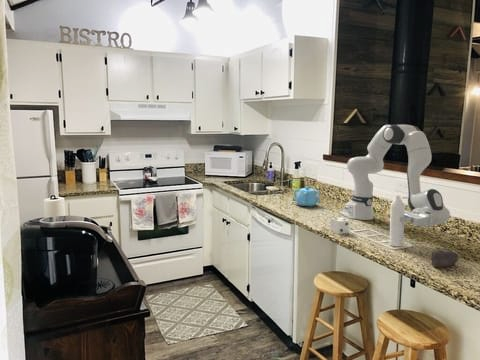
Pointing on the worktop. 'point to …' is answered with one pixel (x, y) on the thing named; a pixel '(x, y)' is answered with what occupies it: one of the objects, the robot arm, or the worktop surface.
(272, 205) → the worktop surface
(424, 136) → the robot arm
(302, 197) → the decorative pot
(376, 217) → the worktop surface
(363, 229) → the game track
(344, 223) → the die
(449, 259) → the perforated stone tool
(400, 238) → the white bottle
